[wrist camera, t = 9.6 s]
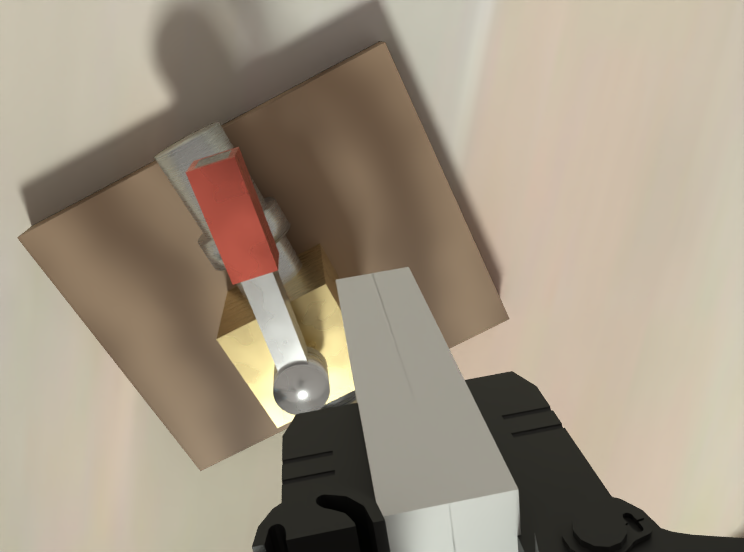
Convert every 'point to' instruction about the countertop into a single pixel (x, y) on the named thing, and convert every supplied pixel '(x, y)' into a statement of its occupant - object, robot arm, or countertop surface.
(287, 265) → the valve pipe
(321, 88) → the mounting board
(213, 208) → the valve lever
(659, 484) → the countertop surface
